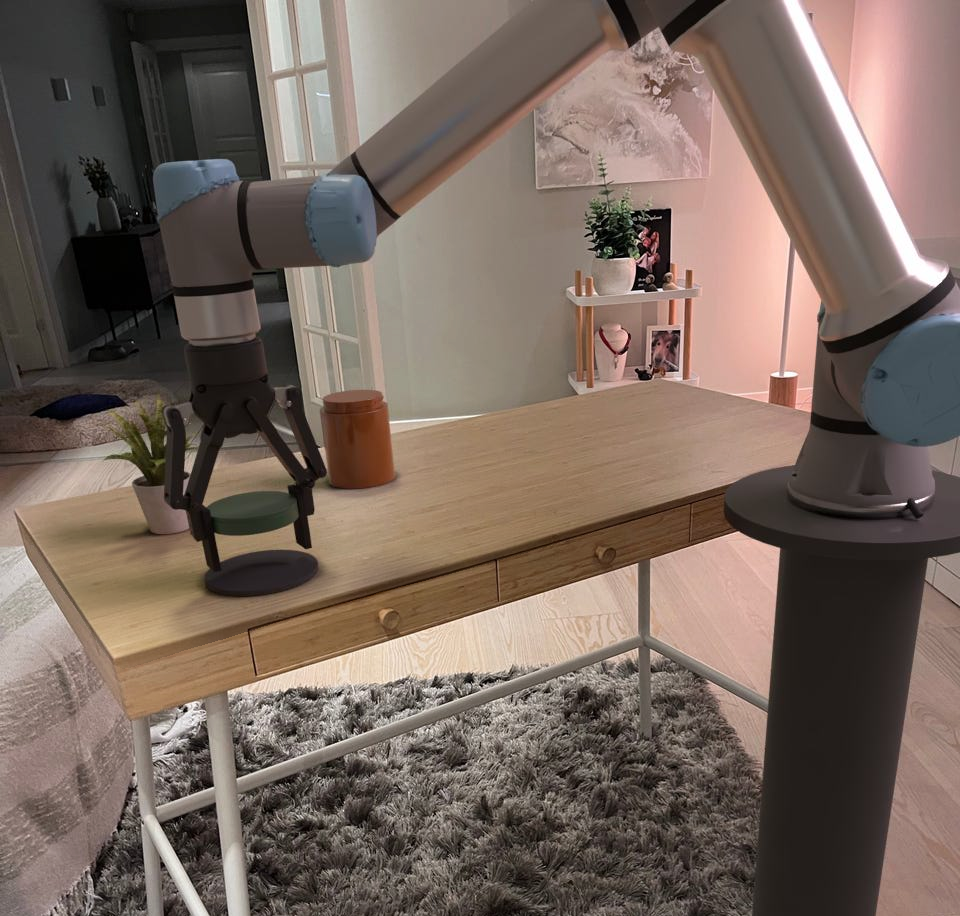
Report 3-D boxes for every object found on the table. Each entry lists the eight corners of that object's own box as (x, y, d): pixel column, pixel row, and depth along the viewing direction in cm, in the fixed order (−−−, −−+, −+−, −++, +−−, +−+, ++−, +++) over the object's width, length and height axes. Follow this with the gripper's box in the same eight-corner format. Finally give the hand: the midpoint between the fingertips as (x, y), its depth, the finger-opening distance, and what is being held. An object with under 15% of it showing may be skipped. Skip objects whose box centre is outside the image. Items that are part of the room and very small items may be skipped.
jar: (406, 479, 134) (398, 395, 129) (345, 493, 130) (334, 406, 125) (377, 466, 141) (368, 385, 136) (318, 478, 137) (307, 396, 132)
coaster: (336, 576, 102) (335, 571, 102) (225, 606, 97) (224, 600, 97) (294, 546, 112) (293, 541, 111) (191, 571, 106) (190, 566, 106)
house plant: (246, 534, 117) (222, 397, 110) (127, 557, 112) (94, 415, 105) (222, 504, 128) (199, 379, 121) (113, 524, 124) (83, 394, 116)
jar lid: (203, 516, 104) (199, 500, 103) (289, 501, 107) (286, 485, 106) (214, 542, 96) (210, 524, 95) (307, 525, 99) (304, 508, 98)
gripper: (313, 320, 101) (340, 524, 111) (96, 350, 92) (147, 571, 101) (342, 326, 96) (368, 541, 105) (114, 359, 86) (166, 593, 95)
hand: (260, 556), depth 103 cm, fingers closed on jar lid, 9 cm apart
